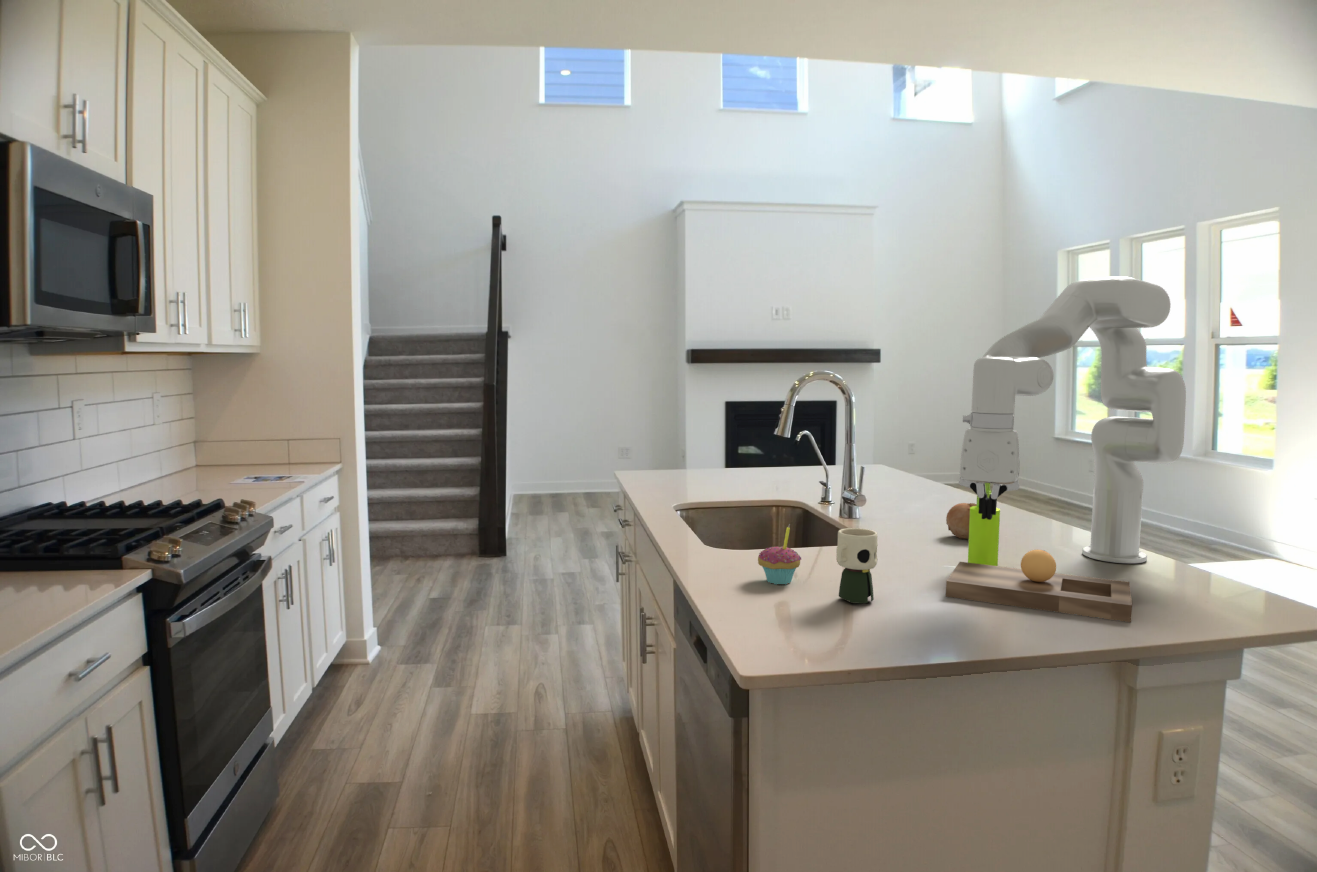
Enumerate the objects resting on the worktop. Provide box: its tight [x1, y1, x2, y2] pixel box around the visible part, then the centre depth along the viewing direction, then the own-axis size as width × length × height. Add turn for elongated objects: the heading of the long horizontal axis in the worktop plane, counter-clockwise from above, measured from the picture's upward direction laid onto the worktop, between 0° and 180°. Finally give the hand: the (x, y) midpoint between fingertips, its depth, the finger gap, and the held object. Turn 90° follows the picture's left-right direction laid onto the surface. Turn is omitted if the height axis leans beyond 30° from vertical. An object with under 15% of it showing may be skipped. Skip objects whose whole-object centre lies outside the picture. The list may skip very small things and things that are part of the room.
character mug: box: [835, 527, 879, 604], centre depth 145 cm, size 11×7×13 cm, turn 127°
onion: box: [945, 502, 977, 540], centre depth 196 cm, size 10×9×10 cm
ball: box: [1020, 549, 1057, 582], centre depth 148 cm, size 6×6×6 cm
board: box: [945, 561, 1133, 623], centre depth 148 cm, size 16×30×3 cm, turn 61°
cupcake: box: [757, 523, 802, 585], centre depth 158 cm, size 9×8×12 cm
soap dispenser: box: [967, 483, 1001, 566], centre depth 166 cm, size 6×7×20 cm
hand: (987, 517), depth 151 cm, fingers closed
